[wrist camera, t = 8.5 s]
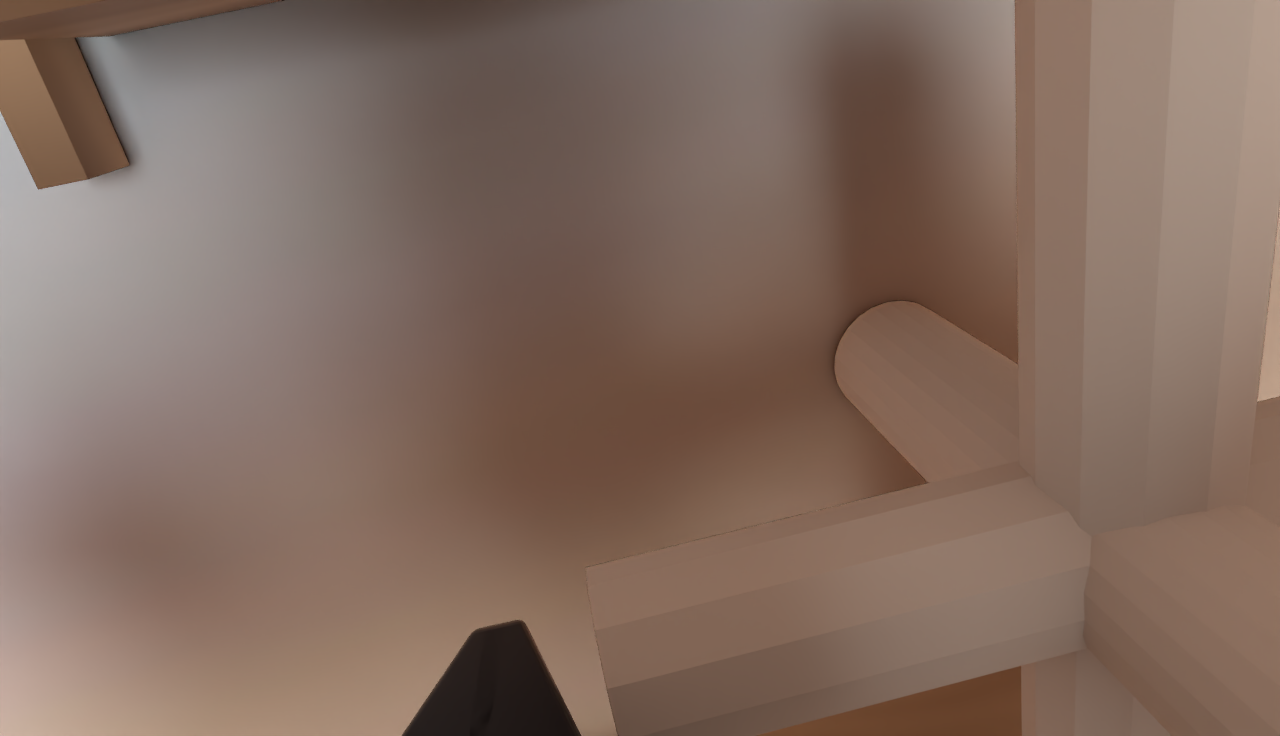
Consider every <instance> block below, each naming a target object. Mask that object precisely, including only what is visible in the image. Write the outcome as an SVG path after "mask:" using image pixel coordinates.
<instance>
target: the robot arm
mask: <svg viewBox="0 0 1280 736" xmlns="http://www.w3.org/2000/svg"><path fill="white" fill-rule="evenodd" d="M402 736H581V734H580V732H579V730H578V728H577V726H576V724H575V722H574V720H573V718H572V716H571V714H570V712H569V710H568V708H567V706H566V704H565V702H564V700H563V698H562V696H561V694H560V692H559V690H558V688H557V686H556V684H555V682H554V680H553V678H552V676H551V674H550V672H549V670H548V668H547V666H546V664H545V662H544V660H543V658H542V656H541V654H540V652H539V650H538V648H537V646H536V644H535V642H534V640H533V637H532V635H531V633H530V631H529V629H528V627H527V626H526V624H525V622H523V621H522V620H514V621H510V622H505V623H501V624H496V625H492V626H487V627H483V628H479V629H477V630H475V631H474V632H473V633H471V635H470V636H469V637H468V639H467V640H466V642H465V643H464V645H463V646H462V648H461V649H460V651H459V652H458V654H457V655H456V656H455V658H454V659H453V661H452V662H451V664H450V665H449V667H448V668H447V670H446V671H445V673H444V674H443V676H442V677H441V679H440V680H439V681H438V683H437V684H436V686H435V687H434V689H433V690H432V692H431V693H430V695H429V696H428V698H427V699H426V701H425V702H424V704H423V705H422V707H421V708H420V709H419V711H418V712H417V714H416V715H415V717H414V718H413V720H412V721H411V723H410V724H409V726H408V727H407V729H406V730H405V732H404V733H403V734H402Z"/></svg>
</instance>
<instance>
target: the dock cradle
mask: <svg viewBox="0 0 1280 736" xmlns="http://www.w3.org/2000/svg"><path fill="white" fill-rule="evenodd" d="M279 1H284V0H0V111H1V113H2V115H3V117H4V120H5V122H6V124H7V126H8V128H9V130H10V132H11V134H12V136H13V138H14V140H15V142H16V144H17V146H18V149H19V151H20V153H21V155H22V157H23V159H24V161H25V163H26V165H27V167H28V169H29V171H30V173H31V175H32V178H33V180H34V182H35V184H36V186H37V188H38V189H43V188H48V187H53V186H58V185H62V184H67V183H72V182H77V181H82V180H87V179H90V178H93V177H96V176H99V175H102V174H105V173H108V172H111V171H114V170H117V169H120V168H123V167H126V166H129V163H128V160H127V158H126V156H125V153H124V151H123V149H122V147H121V144H120V142H119V140H118V137H117V135H116V133H115V130H114V128H113V126H112V123H111V121H110V119H109V117H108V114H107V112H106V110H105V107H104V105H103V103H102V100H101V98H100V96H99V93H98V91H97V89H96V86H95V84H94V82H93V80H92V77H91V75H90V73H89V70H88V68H87V66H86V63H85V61H84V59H83V56H82V54H81V52H80V50H79V47H78V45H77V43H76V40H75V37H102V36H112V35H117V34H122V33H127V32H132V31H137V30H142V29H147V28H152V27H156V26H161V25H166V24H171V23H176V22H181V21H186V20H191V19H196V18H200V17H205V16H210V15H215V14H220V13H225V12H230V11H235V10H240V9H244V8H249V7H254V6H259V5H264V4H269V3H274V2H279ZM756 736H1022V703H1021V666H1018V667H1014V668H1011V669H1007V670H1003V671H999V672H995V673H992V674H988V675H984V676H980V677H976V678H973V679H969V680H965V681H961V682H957V683H954V684H950V685H946V686H942V687H938V688H935V689H931V690H927V691H923V692H920V693H916V694H912V695H908V696H904V697H901V698H897V699H893V700H889V701H885V702H882V703H878V704H874V705H870V706H866V707H863V708H859V709H855V710H851V711H847V712H844V713H840V714H836V715H832V716H828V717H825V718H821V719H817V720H813V721H810V722H806V723H802V724H798V725H794V726H791V727H787V728H783V729H779V730H775V731H772V732H768V733H764V734H760V735H756Z"/></svg>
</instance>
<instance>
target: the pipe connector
mask: <svg viewBox="0 0 1280 736" xmlns="http://www.w3.org/2000/svg"><path fill="white" fill-rule="evenodd" d="M1015 74H1016V179H1017V284H1018V364H1017V363H1015V362H1014V361H1012V360H1010V359H1009V358H1007V357H1005V356H1004V355H1002V354H1001V353H999V352H997V351H996V350H994V349H993V348H991V347H989V346H988V345H986V344H985V343H983V342H981V341H980V340H978V339H976V338H975V337H973V336H972V335H970V334H968V333H967V332H965V331H964V330H962V329H960V328H959V327H957V326H956V325H954V324H952V323H951V322H949V321H947V320H946V319H944V318H943V317H941V316H939V315H938V314H936V313H935V312H933V311H931V310H930V309H928V308H926V307H924V306H922V305H920V304H918V303H914V302H908V301H903V300H902V301H892V302H886V303H883V304H880V305H878V306H875V307H872V308H871V309H869V310H868V311H866V312H865V313H863V314H862V315H860V316H859V317H858V318H857V319H856V320H855V321H854V322H853V323H852V324H851V325H850V326H849V327H848V328H847V330H846V332H845V333H844V335H843V337H842V338H841V340H840V342H839V345H838V348H837V352H836V355H835V370H834V371H835V375H836V379H837V383H838V386H839V387H840V389H841V391H842V392H843V394H844V396H845V397H846V398H847V399H848V400H849V401H850V402H851V403H852V404H853V405H854V406H855V407H856V408H857V409H858V410H859V411H860V412H861V413H862V414H863V416H864V417H865V418H866V419H867V420H868V421H869V422H870V423H871V424H872V425H873V426H874V427H875V428H876V429H877V430H878V431H879V432H880V433H881V434H882V435H883V436H884V437H885V438H886V439H887V440H888V442H889V443H890V444H891V445H892V446H893V447H894V448H895V449H896V450H897V451H898V452H899V453H900V454H901V455H902V456H903V457H904V458H905V459H906V460H907V461H908V462H909V463H910V464H911V465H912V466H913V467H914V469H915V470H916V471H917V472H918V473H919V474H920V475H921V476H922V477H923V478H924V479H925V480H926V481H927V482H928V483H926V484H922V485H918V486H914V487H910V488H906V489H902V490H898V491H894V492H890V493H886V494H882V495H878V496H874V497H870V498H865V499H861V500H857V501H853V502H849V503H845V504H841V505H837V506H833V507H829V508H825V509H821V510H817V511H813V512H809V513H805V514H800V515H796V516H792V517H788V518H784V519H780V520H776V521H772V522H768V523H764V524H760V525H756V526H752V527H748V528H744V529H740V530H736V531H731V532H727V533H723V534H719V535H715V536H711V537H707V538H703V539H699V540H695V541H691V542H687V543H683V544H679V545H675V546H671V547H666V548H662V549H658V550H654V551H650V552H646V553H642V554H638V555H634V556H630V557H626V558H622V559H618V560H614V561H610V562H606V563H602V564H597V565H593V566H589V567H586V581H587V590H588V596H589V601H590V607H591V613H592V619H593V625H594V631H595V635H596V640H597V645H598V650H599V655H600V660H601V664H602V669H603V674H604V679H605V684H606V688H607V693H608V697H609V701H610V705H611V709H612V714H613V718H614V722H615V726H616V730H617V734H618V736H756V735H760V734H764V733H768V732H772V731H775V730H779V729H783V728H787V727H791V726H794V725H798V724H802V723H806V722H810V721H813V720H817V719H821V718H825V717H828V716H832V715H836V714H840V713H844V712H847V711H851V710H855V709H859V708H863V707H866V706H870V705H874V704H878V703H882V702H885V701H889V700H893V699H897V698H901V697H904V696H908V695H912V694H916V693H920V692H923V691H927V690H931V689H935V688H938V687H942V686H946V685H950V684H954V683H957V682H961V681H965V680H969V679H973V678H976V677H980V676H984V675H988V674H992V673H995V672H999V671H1003V670H1007V669H1011V668H1014V667H1018V666H1021V703H1022V736H1280V397H1276V398H1271V399H1267V400H1263V401H1259V402H1257V399H1258V390H1259V381H1260V372H1261V364H1262V355H1263V346H1264V337H1265V329H1266V320H1267V311H1268V303H1269V294H1270V285H1271V276H1272V268H1273V259H1274V250H1275V241H1276V233H1277V224H1278V215H1279V207H1280V0H1015Z"/></svg>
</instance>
